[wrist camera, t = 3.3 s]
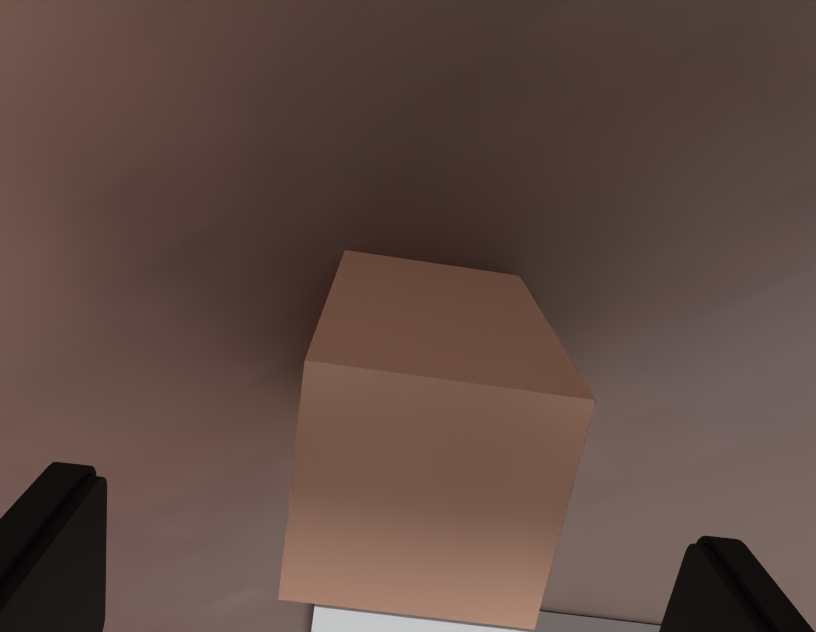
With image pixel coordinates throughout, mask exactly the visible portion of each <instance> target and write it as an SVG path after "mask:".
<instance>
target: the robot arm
mask: <svg viewBox="0 0 816 632" xmlns="http://www.w3.org/2000/svg"><path fill="white" fill-rule="evenodd" d="M106 523H107V481H106V478H104V477H99V476H96V471H95V468H94V467H93V466H88V465H79V464H70V463H62V462H53V463H52V464H50V465H49V466H48V467H47V468H46V469H45V470H44V472H43V473H42V474H41V475H40V476H39V477H38V478H37V479H36V480H35V481H34V482H33V484H32V485H31V486H30V487H29V488H28V489H27V490H26V491H25V492H24V493H23V495H22V496H21V497H20V498H19V499H18V500H17V501H16V502H15V503H14V504H13V505H12V507H11V508H10V509H9V510H8V511H7V512H6V513H5V514H4V515H3V516H2V518H1V519H0V632H102V631H103V627H104V622H105V594H106ZM659 632H814V630H813V629H812V628H811V627H810V625H809V624H808V623H807V622H806V620H805V619H804V618H803V617H802V615H801V614H800V613H799V612H798V610H797V609H796V608H795V607H794V605H793V604H792V603H791V602H790V600H789V599H788V598H787V597H786V595H785V594H784V593H783V592H782V590H781V589H780V588H779V586H778V585H777V584H776V583H775V581H774V580H773V579H772V578H771V576H770V575H769V574H768V573H767V571H766V570H765V569H764V568H763V566H762V565H761V564H760V563H759V561H758V560H757V559H756V558H755V556H754V555H753V554H752V553H751V551H750V550H749V549H748V548H747V546H746V545H745V544H744V543H743V542H742V541H740V540H737V539H730V538H721V537H713V536H703V537H701V538H700V539H699V540H698V541H697V543H696V544H694V543H693V544H690V545H689V546H688V548H687V550H686V552H685V555H684V558H683V561H682V564H681V567H680V570H679V573H678V576H677V579H676V582H675V585H674V588H673V591H672V594H671V597H670V600H669V603H668V606H667V609H666V612H665V615H664V618H663V621H662V624H661V627H660V630H659Z"/></svg>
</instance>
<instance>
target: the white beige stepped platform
mask: <svg viewBox="0 0 816 632" xmlns="http://www.w3.org/2000/svg"><path fill="white" fill-rule="evenodd" d="M660 627H661V626H660V625H651V624H643V623H634V622H626V621H618V620H609V619H601V618H593V617H584V616H576V615H567V614H559V613H551V612H542V611H539V614H538V618H537V621H536V625H535V629H525V628H517V627H508V626H500V625H491V624H483V623H474V622H466V621H457V620H449V619H440V618H432V617H423V616H415V615H406V614H398V613H389V612H381V611H372V610H364V609H355V608H346V607H338V606H329V605H321V604H315V607H314V614H313V622H312V629H311V632H659V630H660Z"/></svg>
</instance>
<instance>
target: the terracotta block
mask: <svg viewBox="0 0 816 632" xmlns="http://www.w3.org/2000/svg"><path fill="white" fill-rule="evenodd" d="M595 401H596V400H595V398H594V397H593V395H592V393H591V392H590V390H589V388H588V387H587V385H586V383H585V382H584V380H583V379H582V377H581V375H580V374H579V372H578V370H577V369H576V367H575V365H574V364H573V362H572V361H571V359H570V357H569V356H568V354H567V352H566V351H565V349H564V347H563V346H562V344H561V343H560V341H559V339H558V338H557V336H556V334H555V333H554V331H553V330H552V328H551V326H550V325H549V323H548V321H547V320H546V318H545V316H544V315H543V313H542V312H541V310H540V308H539V307H538V305H537V303H536V302H535V300H534V298H533V297H532V295H531V294H530V292H529V290H528V289H527V287H526V285H525V284H524V282H523V280H522V279H521V277H520V276H519V275H512V274H506V273H499V272H492V271H485V270H478V269H471V268H465V267H458V266H451V265H444V264H437V263H430V262H424V261H417V260H410V259H403V258H396V257H390V256H383V255H376V254H369V253H362V252H355V251H349V250H345V251H344V253H343V256H342V259H341V262H340V264H339V267H338V270H337V273H336V275H335V278H334V281H333V284H332V286H331V289H330V292H329V295H328V297H327V300H326V303H325V306H324V308H323V311H322V314H321V317H320V319H319V322H318V325H317V328H316V330H315V333H314V336H313V339H312V341H311V344H310V347H309V350H308V352H307V355H306V358H305V361H304V370H303V379H302V389H301V398H300V407H299V416H298V425H297V434H296V443H295V452H294V461H293V471H292V480H291V489H290V498H289V507H288V516H287V525H286V534H285V543H284V552H283V562H282V571H281V580H280V589H279V598H278V600H287V601H295V602H304V603H312V604H321V605H329V606H338V607H346V608H355V609H364V610H372V611H381V612H389V613H398V614H406V615H415V616H423V617H432V618H440V619H449V620H457V621H466V622H474V623H483V624H491V625H500V626H508V627H517V628H525V629H535V625H536V621H537V618H538V614H539V610H540V606H541V603H542V599H543V595H544V591H545V588H546V584H547V580H548V576H549V573H550V569H551V565H552V562H553V558H554V554H555V550H556V547H557V543H558V539H559V535H560V532H561V528H562V524H563V520H564V517H565V513H566V509H567V506H568V502H569V498H570V494H571V491H572V487H573V483H574V479H575V476H576V472H577V468H578V464H579V461H580V457H581V453H582V449H583V446H584V442H585V438H586V435H587V431H588V427H589V423H590V420H591V416H592V412H593V408H594V405H595Z"/></svg>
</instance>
